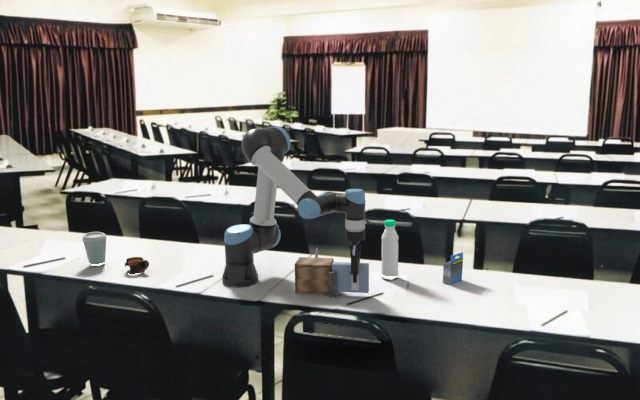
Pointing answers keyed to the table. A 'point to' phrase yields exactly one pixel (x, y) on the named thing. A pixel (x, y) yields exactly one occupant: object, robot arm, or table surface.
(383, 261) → the water bottle
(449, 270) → the label tape box
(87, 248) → the disposable coffee cup
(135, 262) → the pottery mug
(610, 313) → the table surface
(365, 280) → the door
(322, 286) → the cabinet
